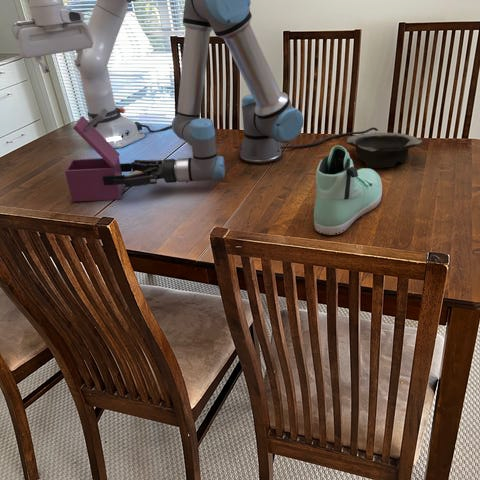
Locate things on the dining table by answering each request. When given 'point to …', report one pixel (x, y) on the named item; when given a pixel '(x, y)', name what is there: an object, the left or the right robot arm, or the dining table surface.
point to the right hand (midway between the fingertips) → (107, 174)
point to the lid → (97, 138)
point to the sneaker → (343, 192)
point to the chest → (92, 180)
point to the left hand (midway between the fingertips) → (62, 69)
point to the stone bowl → (382, 148)
